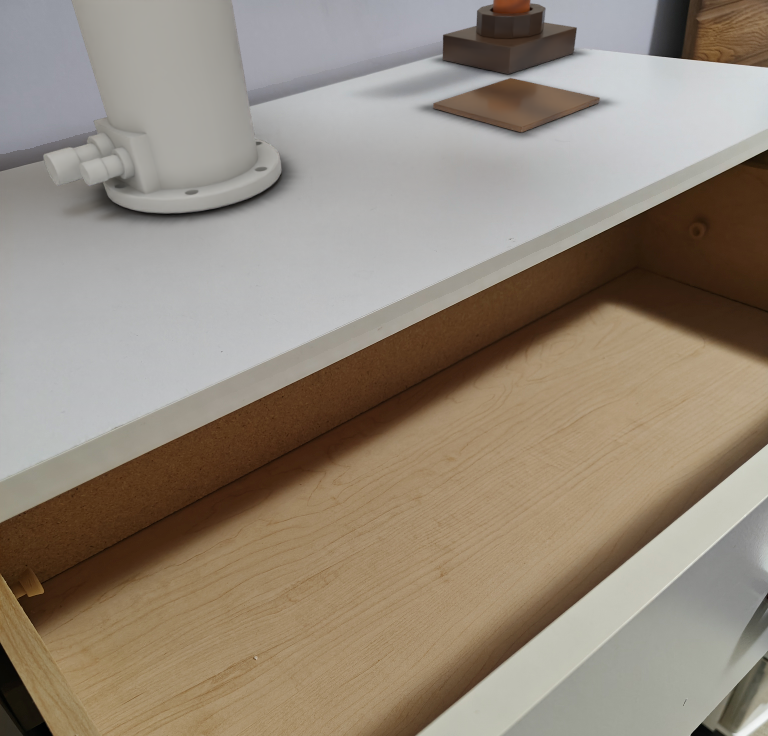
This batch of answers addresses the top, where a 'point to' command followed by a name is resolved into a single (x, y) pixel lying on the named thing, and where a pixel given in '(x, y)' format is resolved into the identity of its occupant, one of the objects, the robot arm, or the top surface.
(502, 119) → the coaster
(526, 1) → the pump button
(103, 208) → the top surface
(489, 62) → the button housing
